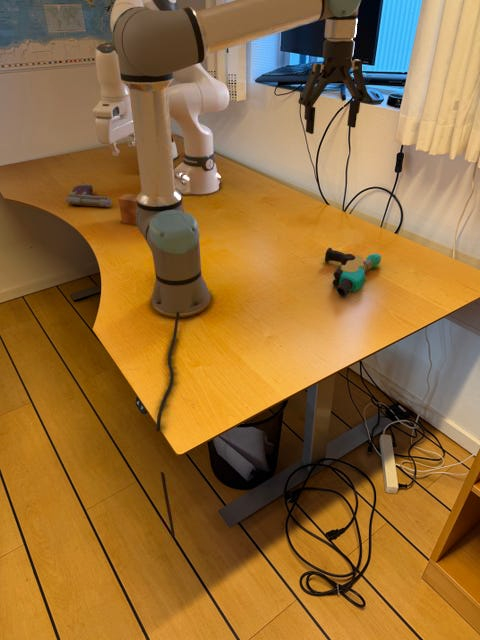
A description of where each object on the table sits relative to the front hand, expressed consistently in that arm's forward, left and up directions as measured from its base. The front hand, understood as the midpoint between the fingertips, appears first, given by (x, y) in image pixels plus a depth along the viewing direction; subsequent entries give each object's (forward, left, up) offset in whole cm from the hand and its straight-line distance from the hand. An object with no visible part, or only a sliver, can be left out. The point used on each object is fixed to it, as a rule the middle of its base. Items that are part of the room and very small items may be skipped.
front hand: (330, 129), depth 129 cm
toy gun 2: (-19, -6, -36) cm, 41 cm away
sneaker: (+78, +69, -36) cm, 110 cm away
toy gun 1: (+33, +84, -36) cm, 97 cm away
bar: (+14, +57, -36) cm, 68 cm away
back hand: (+16, +64, -11) cm, 67 cm away
